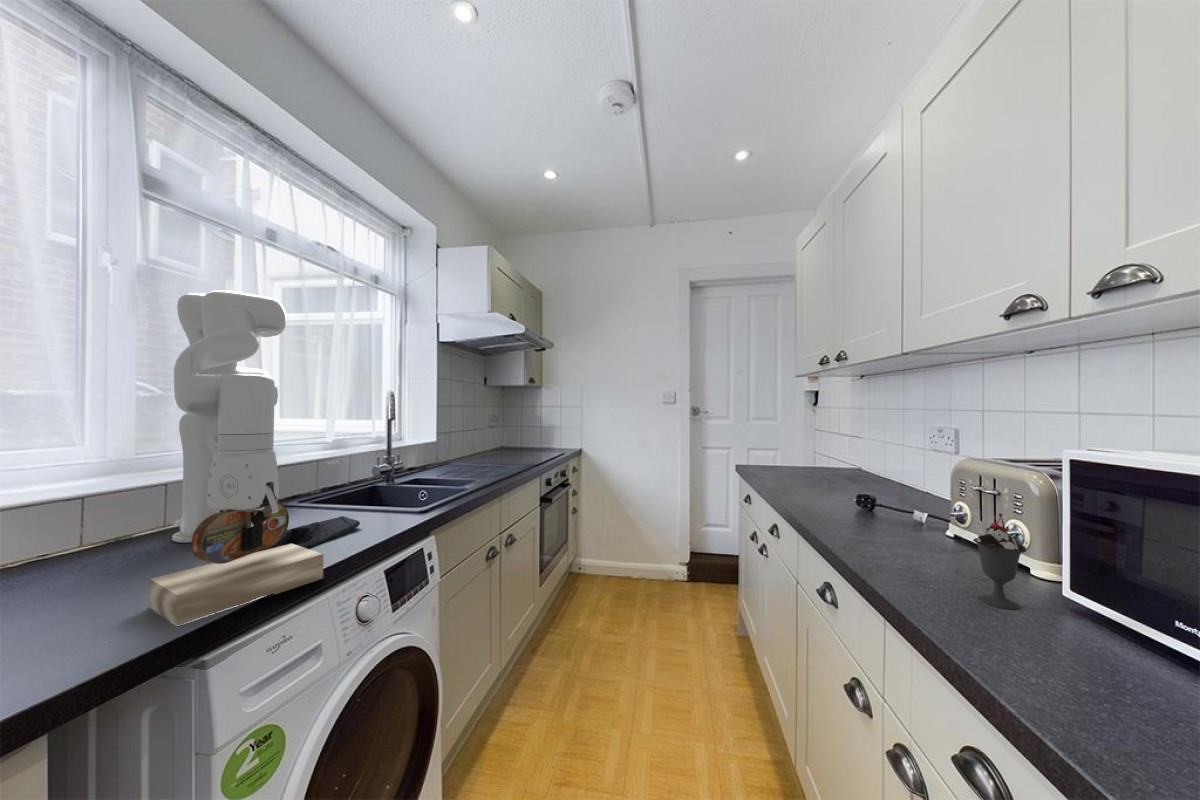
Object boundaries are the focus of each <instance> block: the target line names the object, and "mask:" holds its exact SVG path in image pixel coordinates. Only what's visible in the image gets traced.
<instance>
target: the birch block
mask: <svg viewBox="0 0 1200 800" xmlns="http://www.w3.org/2000/svg"><path fill="white" fill-rule="evenodd" d="M322 579H324V553H322V552H318V551H316V550H313V549H309V548H304V547H301V546H298V545H295V544H292V543H291V544H287V545H283V546H279V547H275V548H271V549H267V550H263V551H259V552H255V553H252V554H249V555H247V556H244V557H241V558H239V559H236V560H233V561H231V562H228V563H223V564H216V563H208V564H205V565H199V566H196V567H193V568H188V569H184V570H180V571H177V572H172V573H169V574H165V575H160V576H157V577H152V578H150V579H149V580H150V581H149V608H150V609H151V610H152V609H153V610H152V611H153V612H155V611H156V612H157V613H156V612H155V613H156V614H158V615H159V614H160V615H159V616H160V617H162V616H163V617H164V619H165V618H166V619H168V620H169V621H170V622H172V623H174V624H175V625H177V626H178V625H181V624H184V623H186V622H189V621H192V620H194V619H197V618H200V617H203V616H206V615H209V614H212V613H216V612H218V611H221V610H224V609H226V608H230V607H233V606H236V605H240V604H243V603H246V602H249V601H251V600H253V599H256V598H258V597H261V596H265V595H269V594H275V595H278V594H281V593H284V592H286V591H290V590H292V589H296V588H298V587H302V586H305V585H308V584H311V583H314V582H317V581H320V580H322ZM163 617H162V618H163ZM166 619H165V620H166ZM168 620H167V621H168ZM169 621H168V622H169ZM170 622H169V623H170ZM172 623H171V624H172Z"/></svg>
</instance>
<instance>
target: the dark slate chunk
mask: <svg viewBox="0 0 1200 800" xmlns="http://www.w3.org/2000/svg"><path fill="white" fill-rule="evenodd" d="M360 524H361V523H360V521H359V520H358V519H354V518H349V517H347V516H343V515H342V516H338V517H334V518H330V519H329V518H328V519H326V520H325V519H324V520H322V521H316V522H312V523H309V524H303V525H300V526H297V527H292V528H290V529H287V530H286V532H285V534H284V536H283V537H282V538H281V539H280V540H279V541H278V542H277V543H276V544H275V545H273V546H271V547H269V548H266V549H263V550H267V549H271V548H275V547H279V546H283V545H287V544H291V543H292V544H295V545H298V546H301V547H304V548H307V549H309V548H312V547H315V546H318V545H320V544H323V543H324V542H326V541H329V540H333V538H335V539H336V538H337V537H340V536H342V535H345V534H347V533H349V532H350V531H353V530H354V529H356V528H358V527H359V526H360ZM263 550H261V551H263ZM258 552H259V551H258Z"/></svg>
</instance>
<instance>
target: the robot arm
mask: <svg viewBox="0 0 1200 800" xmlns="http://www.w3.org/2000/svg"><path fill="white" fill-rule="evenodd" d="M176 309H177V316H178V320H179V322H180V325H181V328H182V330H183V332H184V333H185V335H186V338H187V340H188V344H189V345H188V346H187V347H186V348H185V349H184V350H183V351H182V352H180V354H179V355H178V356H177V359H176V361H175V363H174V367H173V392H174V395H173V396H174V399H175V403H176V405H177V407H178V408H179V409H180V410H181V411H183V412H184V414H183V415H182V416H181V418H180V419H179V422H178V423H179V424H178V430H179V431H178V432H179V436H180V441H181V442H180V443H181V447H182V503H181V504H182V507H181V508H182V509H181V517H180V519H179V520H178V519H177V520H175V521H174V522H173V525H174V526H175V527H179V531H178V532H175V533H174V534H172V536H171V537H172V538H171V539H172V542H175V543H179V544H180V543H183V544H184V543H185V544H186V543H187V544H188V543H189V544H190V543H192V538H193V533H194V531H195V530H196V528H197V527H198V525H199V524H200V523H201V522H202V521H203V520H205V519H206V518H207V517H209V516H211V515H213V514H216V513H219V512H223V511H228V510H229V511H245V526H246V527H245V528H242V546H241V549H242V551H248V550H251V549H254V548H257V547H260V546H262V539H263V524H265V523H266V519H267V518H268V517H269V516H270V515H272V514H274V513H276V512H278V511H279V508H278V505H277V503H276V502H278V498H279V491H280V490H279V487H280V486H279V470H278V469H279V468H278V462H277V456H276V450H274V443H275V442H274V439H275V437H274V436H275V435H274V434H275V406H276V405H277V403H278V398H279V393H278V392H279V391H278V387H277V385H276V384H275V381H274V379H273V378H272V376H271V374H270V373H269V372H268V371H266V370H264V369H260V368H254V367H239V366H238V363H239V362H241V361H244V360H247V359H250V358H251V357H252V356H254V355H255V354H256V353H258V350H259V348H260V342H259V338H260V337H261V338H270V337H271V338H272V337H277V336H279V335H281V334H282V333H283V331H285V328H286V326H287V313H286V310H285V307H284V306H283V304H282V303H281V302H280V301H279V300H277V299H275V298H273V297H269V296H263V295H258V294H251V293H244V292H238V291H233V290H223V289H222V290H219V289H218V290H212V291H209V292H207V293H188V294H186V293H185V294H183V295H181V296H180V297H179V298H178V300H177V307H176ZM257 511H258V513H256V515H255V516H254V512H257Z"/></svg>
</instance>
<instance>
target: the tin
mask: <svg viewBox="0 0 1200 800" xmlns="http://www.w3.org/2000/svg"><path fill="white" fill-rule="evenodd" d="M276 503H277V505H278V508H279V511H278V512H276V513H274V514H272V515H270V516H269V517H268V518H267V519H266V523H265V524H263V539H262V546H260V547H257V548H254V549H251V550H248V551H242V549H241V546H242V528H245V527H246V526H245V511H229V510H228V511H223V512H219V513H216V514H213V515H211V516H209V517H207V518H206V519H205V520H203V521H202V522H201V523H200V524H199V525H198V527H197V528H196V530H195V531H194V533H193V538H192V542H191V549H192V553H193V555H194V556H195V557H196V559H198V560H200V561H202V562H205V563H210V564H212V563H216V564H223V563H228V562H231V561H233V560H236V559H239V558H241V557H244V556H247V555H249V554H252V553H255V552H258V551H261V550H263V549H266V548H269V547H271V546H273V545H275V544H276V543H277V542H278V541H279V540H280V539H281V538H282V537H283V536H284V534H285V532H286V530H288V528H289V523H290V515H289V512H288V510H287V508H286V506H285V505H283V503H281V502H278V501H277V502H276ZM256 513H258V511H257V512H254V516H255V515H256Z"/></svg>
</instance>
